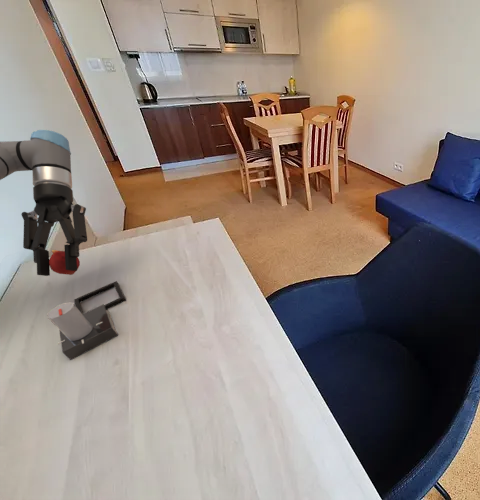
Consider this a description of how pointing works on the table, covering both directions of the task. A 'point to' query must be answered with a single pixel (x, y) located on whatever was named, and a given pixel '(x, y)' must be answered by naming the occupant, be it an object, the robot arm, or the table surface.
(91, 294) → the frame
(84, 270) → the table surface
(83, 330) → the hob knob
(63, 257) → the onion
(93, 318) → the panel
